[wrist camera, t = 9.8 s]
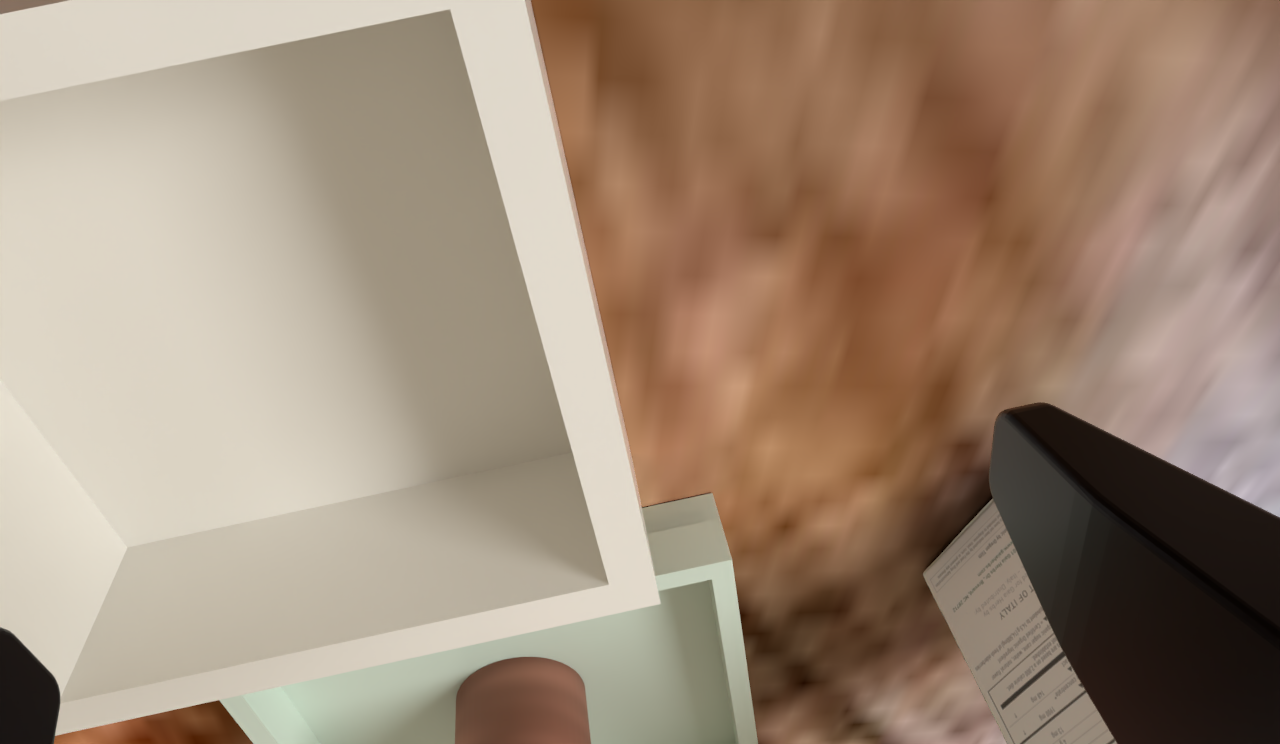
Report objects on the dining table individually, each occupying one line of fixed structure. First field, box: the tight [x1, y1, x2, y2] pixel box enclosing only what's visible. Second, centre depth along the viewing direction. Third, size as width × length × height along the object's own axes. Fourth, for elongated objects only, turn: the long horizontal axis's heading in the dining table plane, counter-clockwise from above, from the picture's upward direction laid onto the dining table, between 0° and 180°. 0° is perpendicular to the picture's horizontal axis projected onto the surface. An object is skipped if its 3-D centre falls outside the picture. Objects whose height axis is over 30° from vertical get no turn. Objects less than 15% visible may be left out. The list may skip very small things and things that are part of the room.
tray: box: [219, 493, 758, 744], centre depth 27 cm, size 14×12×2 cm
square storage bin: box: [0, 0, 661, 736], centre depth 17 cm, size 14×14×5 cm
